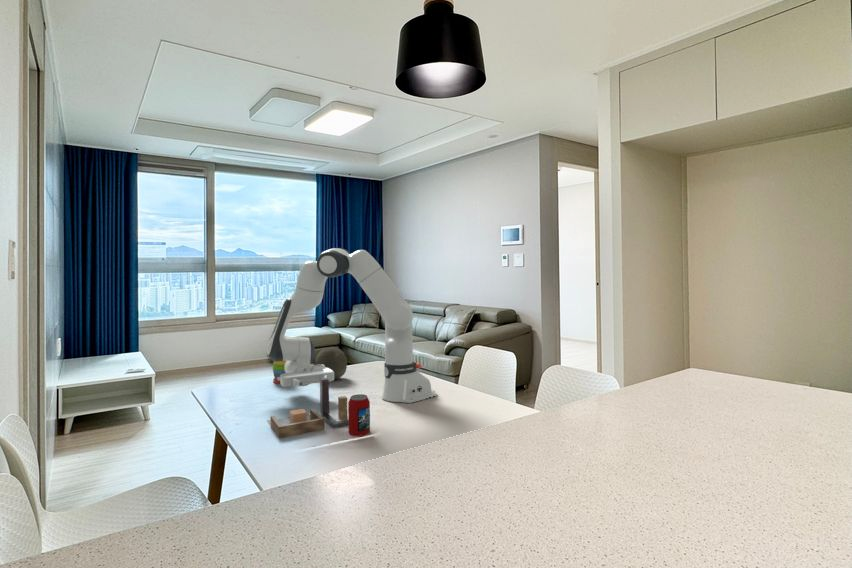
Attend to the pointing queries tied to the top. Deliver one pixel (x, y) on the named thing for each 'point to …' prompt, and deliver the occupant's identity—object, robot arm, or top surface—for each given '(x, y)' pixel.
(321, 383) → the hook tool
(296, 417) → the block
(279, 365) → the stacking bear
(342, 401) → the plain rod
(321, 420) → the wooden tray
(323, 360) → the cantaloupe
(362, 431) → the beverage can
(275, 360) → the robot arm
